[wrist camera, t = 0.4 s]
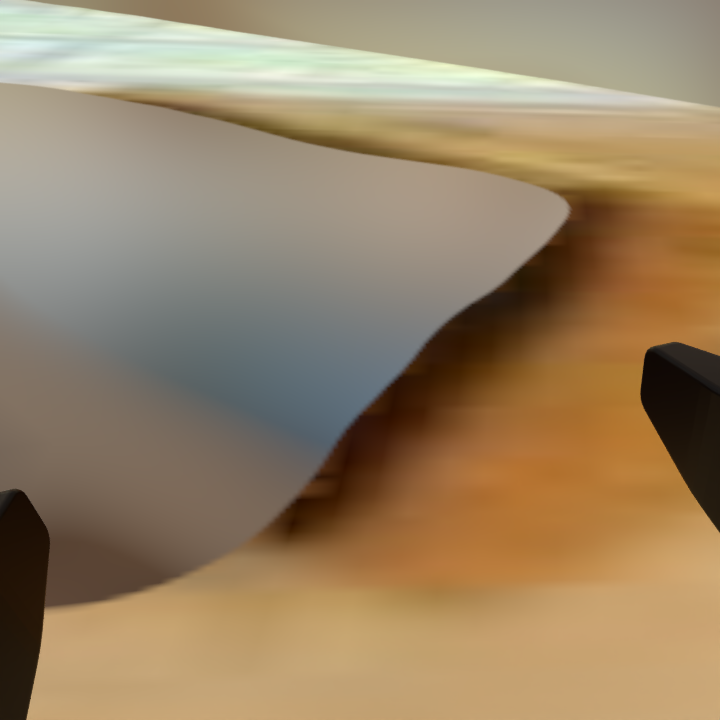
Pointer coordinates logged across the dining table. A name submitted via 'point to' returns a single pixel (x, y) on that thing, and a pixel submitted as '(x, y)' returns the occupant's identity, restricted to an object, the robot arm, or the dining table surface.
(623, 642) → the dining table surface
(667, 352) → the robot arm
